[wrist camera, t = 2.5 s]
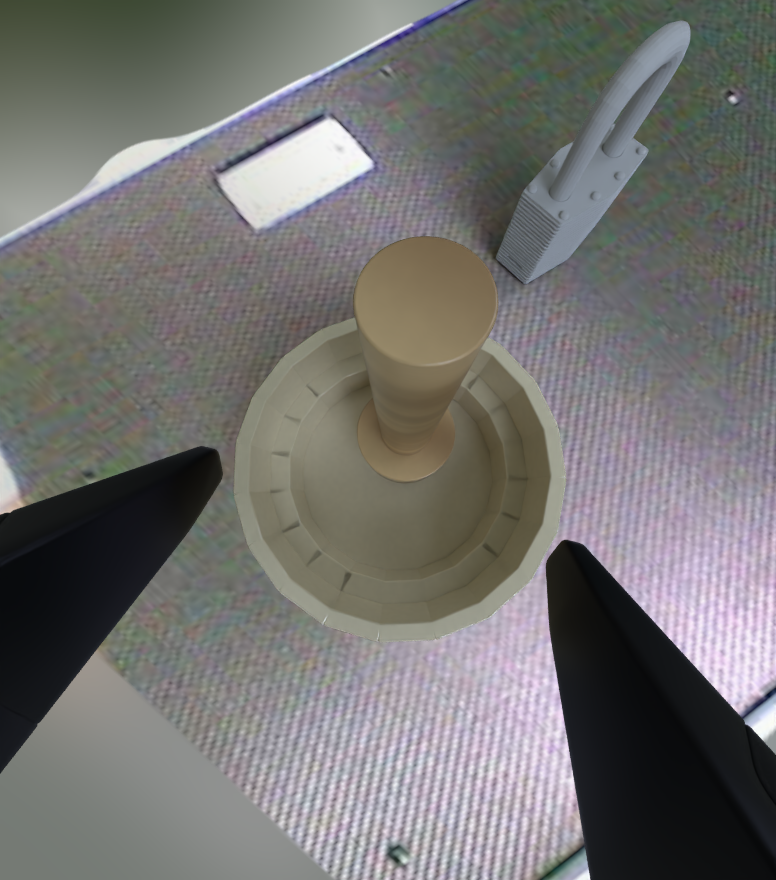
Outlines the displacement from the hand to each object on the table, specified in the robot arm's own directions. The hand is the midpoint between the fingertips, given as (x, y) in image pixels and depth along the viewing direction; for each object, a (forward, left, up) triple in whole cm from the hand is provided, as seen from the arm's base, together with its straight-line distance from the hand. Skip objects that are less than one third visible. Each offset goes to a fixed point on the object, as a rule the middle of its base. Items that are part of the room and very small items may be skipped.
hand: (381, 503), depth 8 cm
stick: (+4, +1, -10) cm, 11 cm away
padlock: (+21, +1, -11) cm, 23 cm away
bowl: (+2, +1, -11) cm, 11 cm away
